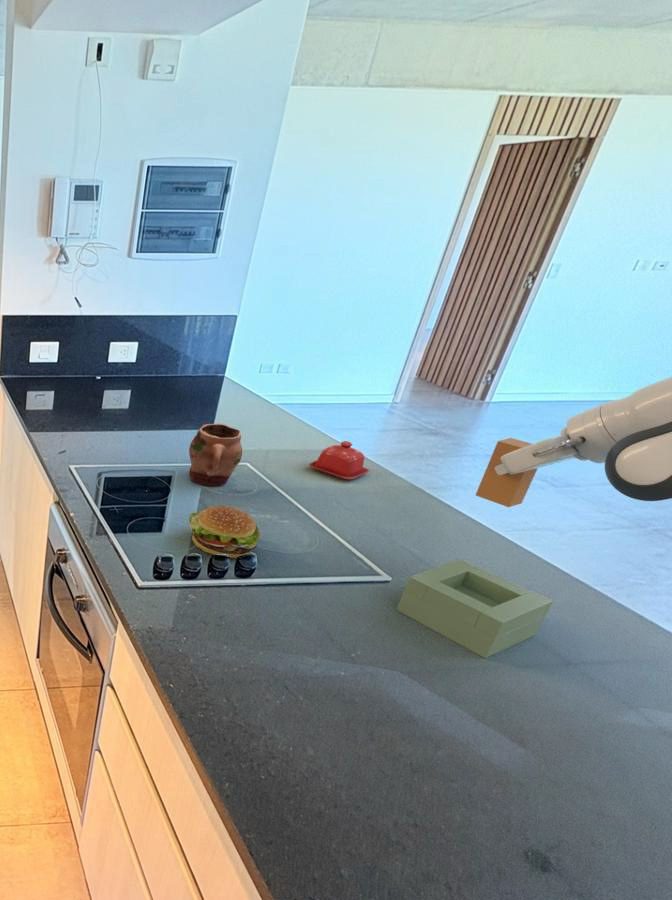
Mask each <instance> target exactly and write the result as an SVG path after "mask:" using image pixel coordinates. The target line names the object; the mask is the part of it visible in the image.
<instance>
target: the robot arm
mask: <svg viewBox="0 0 672 900" xmlns="http://www.w3.org/2000/svg"><path fill="white" fill-rule="evenodd" d="M533 453H534V455H533ZM500 459H501V462H502V464H501V465H498V466H496V467H495V471H496V473H497V474H498V475H504V474H507V473H509V474H511V475H513V474H518V473H521V472H525V471H529V470H533V469H536V468H538V469H539V468H543V467H548V466H551V465H554V464H555V465H556V464H559V463H562V462H566V461H569V460H574V459H577V460H579V461H583V462H586V461H590V462H592V463H595V464H604V473H605V476H606V479H607V480H608V482H609V483H610V485H612V487H613V488H614V489H615V490H616V491H618V492H619V493H620V494H622V495H624V496H626V497H629V498H630V499H634V500H637V501H642V502H643V501H644V502H660V501H666V500H671V499H672V376H671V377H667V378H665V379H661V380H659V381H656V382H654V383H651V384H648V385H646V386H643V387H640V388H639V389H636V390H635V391H634V392H632V393H631V394H630V395H627V396H625V397H622V398H620V399H613V400H609V401H606V402H604V403H601V404H599V405H596V406H594V407H591V408H589V409H586V410H583V411H581V412H579V413H577V414H574V415H572V416H570V417H568V419H567V421H566V426H564V427H562V428H561V431H560V435H558V436H554V437H549V438H545V439H543V440H540V441H537V442H535V443H531V445H529V446H526V447H523V448H521V449H518V450H515V451H513V452H510V453H507V454H505V455H503V456H502V457H501V458H500Z"/></svg>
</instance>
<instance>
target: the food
mask: <svg viewBox="0 0 672 900" xmlns="http://www.w3.org/2000/svg"><path fill="white" fill-rule="evenodd" d="M188 521H189V528H190V531H191V533H192V535H191V536H192V537H191V539H192V542H193V543H194V545H195V547H196V548H198V549H200V550H201V551H203V552H204V553H206V554H209V555H213V556H215V554H226V555H228V556H229V557H230V558H229V559H238V558H237V557H239V556H241V555H244V554H248V555H249V554H250V553H252V552H253V550H255V549H256V548H257V544H258V540H259V539H260V536H261V532H260V531H259V530H260V528H258V524H257V523H256V521H255V519H254V518H253V517H252V516H251V515H250V514H248V513H247V512H246V511H244V510H242V509H239V508H236V507H233V506H228V505H215V506H214V505H213V506H209V507H207V508H203V510H199V512H198V513H197V511H194V512H192V513H191V514H190V515H189V517H188ZM239 558H240V557H239Z"/></svg>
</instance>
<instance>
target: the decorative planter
mask: <svg viewBox="0 0 672 900" xmlns="http://www.w3.org/2000/svg"><path fill="white" fill-rule="evenodd" d="M241 441H242V434H241V431H240V430H239V429H237V428H235V427H231V426H229V425H228V424H223V423H208V424H207V423H206V424H203V425H202V426H201V427H200V428H199V429H198V431H197V433H196V434H195V436H194V437H193V439H192V440H191V442H190V445H189V449H188V455H189V459H190V467H189V470H188V475H189V479H190V480H191V481H192V482H193V483H195V484H198V485H204V486H212V487H213V486H214V487H216V486H217V487H218V486H224V485H226V484H227V483H228V481H229V479H230V478H231V476H232V474H233V473H234V471H235V470H236V468H237V467H238V465H239V464H240V463H241V460H242V457H243V446H242V442H241Z"/></svg>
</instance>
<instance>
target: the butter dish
mask: <svg viewBox="0 0 672 900" xmlns="http://www.w3.org/2000/svg"><path fill="white" fill-rule="evenodd" d="M352 446H353V443H352V442H351V441H348V440H343V441H341V442H340V444H334V445H330V446H328V447H326V448H324V449H322V451H321V453H320V455H319V456H318V458H317V459H316V460H314V461H312V462H310V463H308V466H309V468H312V469H315V470H317V471H318V472H321V473H325V474H327V475H330V476H333V477H337V478H339V479H342V480H353V479H356V478H359V477H361V476H363V475H365V474H367V473H368V472H370V471H371V470H370V469H369V468H367V467H364V464H365V455H364V453H363V452H362V451H360V450H358V449H356V448H354V447H352Z"/></svg>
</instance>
